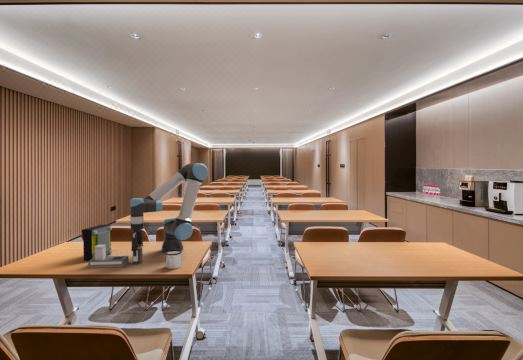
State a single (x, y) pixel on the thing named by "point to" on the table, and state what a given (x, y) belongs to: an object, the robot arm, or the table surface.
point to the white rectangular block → (100, 252)
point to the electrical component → (96, 240)
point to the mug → (173, 259)
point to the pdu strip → (109, 262)
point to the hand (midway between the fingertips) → (137, 259)
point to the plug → (139, 254)
